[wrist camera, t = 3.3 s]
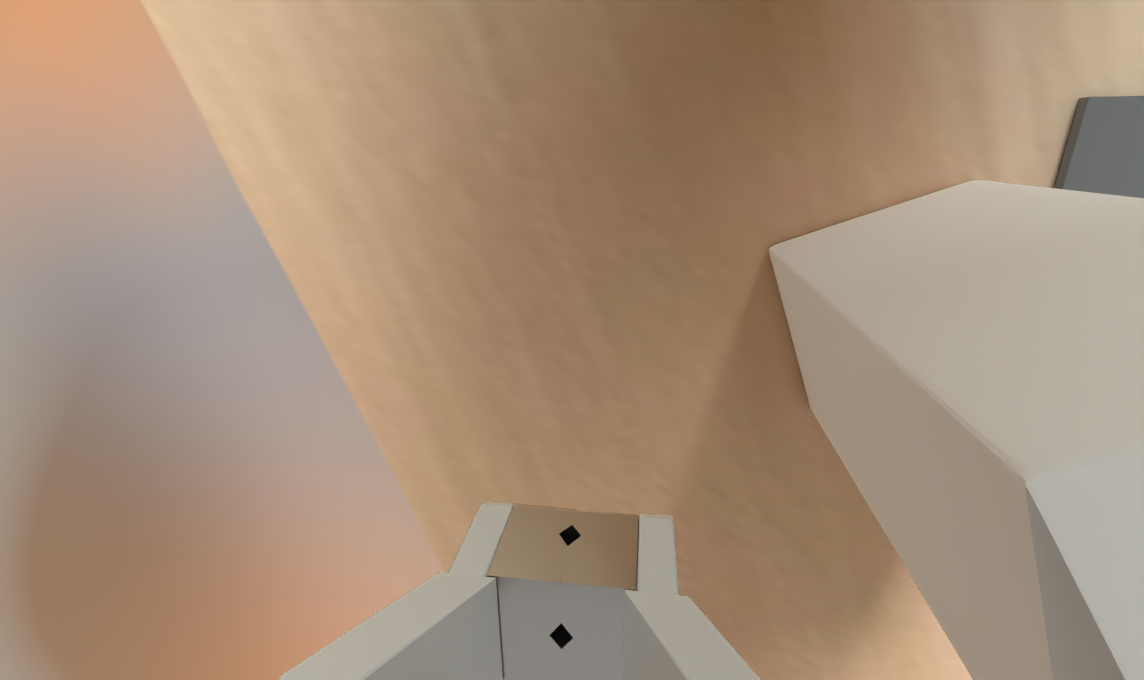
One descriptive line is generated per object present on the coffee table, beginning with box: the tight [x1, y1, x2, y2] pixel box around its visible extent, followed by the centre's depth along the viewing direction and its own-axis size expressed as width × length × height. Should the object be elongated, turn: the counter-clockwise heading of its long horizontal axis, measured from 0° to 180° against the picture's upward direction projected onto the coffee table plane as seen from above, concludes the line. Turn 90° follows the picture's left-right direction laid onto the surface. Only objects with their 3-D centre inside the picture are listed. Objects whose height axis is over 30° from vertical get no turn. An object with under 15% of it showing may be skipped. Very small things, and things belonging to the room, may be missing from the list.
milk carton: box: [769, 180, 1144, 680], centre depth 11 cm, size 7×7×19 cm
